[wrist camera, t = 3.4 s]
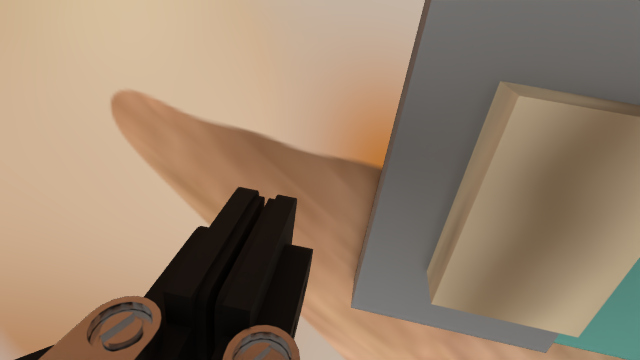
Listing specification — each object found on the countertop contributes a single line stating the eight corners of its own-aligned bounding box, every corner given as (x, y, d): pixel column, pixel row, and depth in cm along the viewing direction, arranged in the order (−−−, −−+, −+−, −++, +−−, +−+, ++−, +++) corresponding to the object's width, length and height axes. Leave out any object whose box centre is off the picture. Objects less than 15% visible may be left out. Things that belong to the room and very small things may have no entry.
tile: (683, 112, 12) (734, 133, 10) (557, 300, 16) (577, 337, 14) (500, 80, 12) (519, 95, 10) (426, 271, 17) (431, 304, 15)
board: (785, -74, 11) (862, -86, 9) (531, 320, 20) (545, 352, 18) (455, -117, 12) (467, -136, 10) (353, 280, 20) (350, 307, 19)
